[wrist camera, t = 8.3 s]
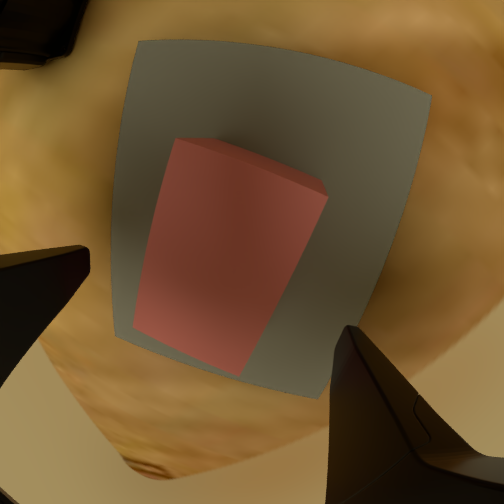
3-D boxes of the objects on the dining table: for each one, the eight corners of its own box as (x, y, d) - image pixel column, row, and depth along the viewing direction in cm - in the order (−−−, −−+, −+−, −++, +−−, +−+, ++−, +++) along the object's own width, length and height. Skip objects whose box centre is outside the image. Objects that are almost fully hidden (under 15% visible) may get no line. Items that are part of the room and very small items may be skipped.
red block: (169, 285, 15) (132, 327, 12) (214, 138, 12) (175, 137, 8) (255, 323, 15) (239, 376, 11) (321, 180, 12) (328, 197, 8)
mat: (146, 44, 11) (138, 40, 11) (425, 97, 10) (432, 95, 9) (120, 329, 18) (115, 336, 18) (318, 390, 17) (317, 399, 16)
